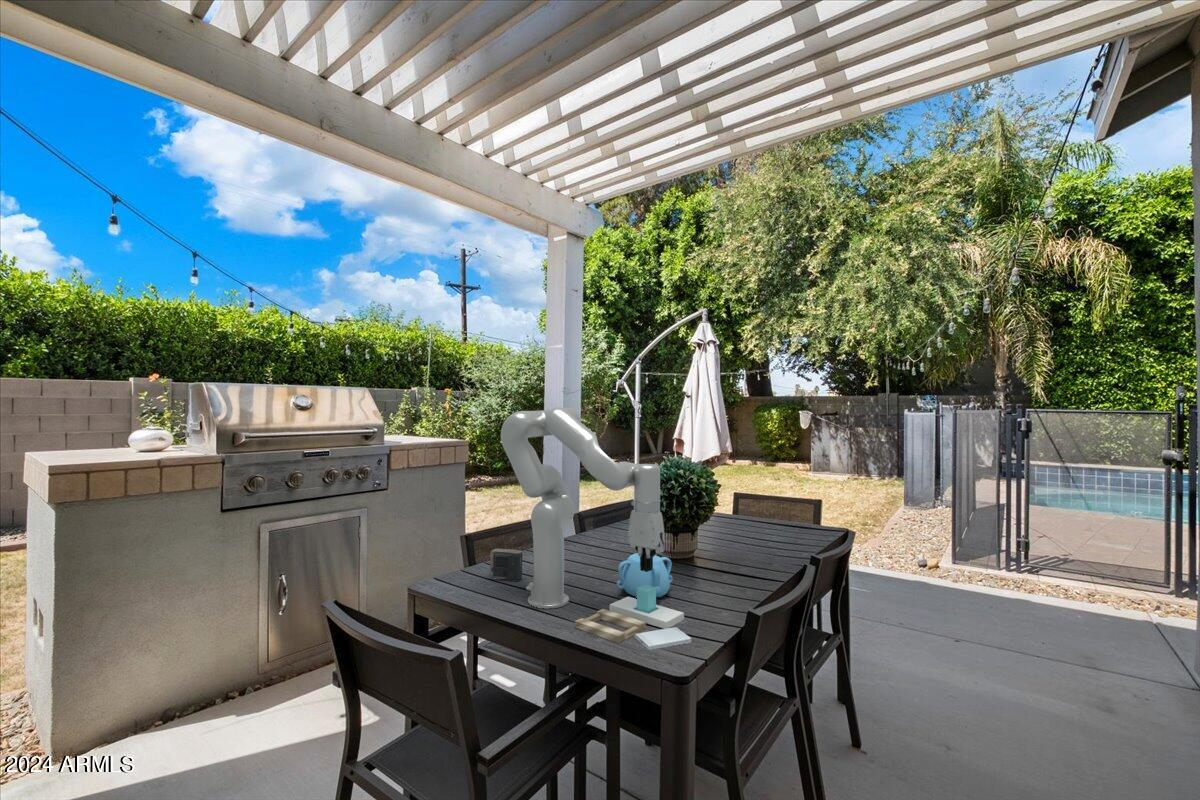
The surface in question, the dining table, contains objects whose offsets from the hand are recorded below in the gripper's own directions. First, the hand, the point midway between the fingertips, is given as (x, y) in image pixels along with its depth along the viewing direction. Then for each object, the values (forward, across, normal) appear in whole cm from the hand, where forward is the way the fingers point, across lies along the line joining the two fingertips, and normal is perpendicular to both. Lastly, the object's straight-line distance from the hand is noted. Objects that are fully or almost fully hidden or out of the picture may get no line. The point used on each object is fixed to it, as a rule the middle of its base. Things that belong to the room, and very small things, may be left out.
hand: (646, 570), depth 160 cm
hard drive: (+14, +13, -11) cm, 22 cm away
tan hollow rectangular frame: (+13, -2, -14) cm, 19 cm away
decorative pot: (+13, -11, +15) cm, 23 cm away
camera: (+13, -56, -5) cm, 58 cm away
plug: (+13, 0, 0) cm, 13 cm away
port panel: (+13, 0, 0) cm, 13 cm away
